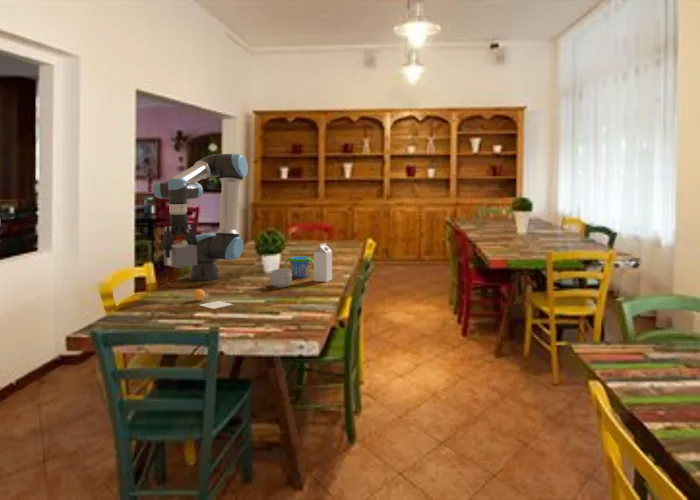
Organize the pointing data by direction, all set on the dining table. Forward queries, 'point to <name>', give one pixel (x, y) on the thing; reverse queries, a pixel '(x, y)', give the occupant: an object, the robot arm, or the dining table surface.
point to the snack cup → (299, 265)
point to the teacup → (280, 277)
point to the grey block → (182, 255)
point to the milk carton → (323, 263)
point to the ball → (199, 295)
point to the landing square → (216, 304)
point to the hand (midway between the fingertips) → (180, 263)
